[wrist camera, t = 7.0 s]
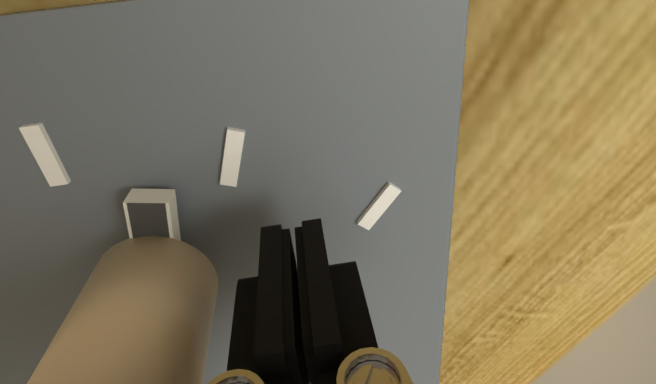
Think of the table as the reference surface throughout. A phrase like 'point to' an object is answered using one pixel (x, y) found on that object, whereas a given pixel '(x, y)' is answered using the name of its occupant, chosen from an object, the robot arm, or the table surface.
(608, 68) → the table surface
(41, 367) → the tuning lever
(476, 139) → the table surface
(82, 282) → the dial board
